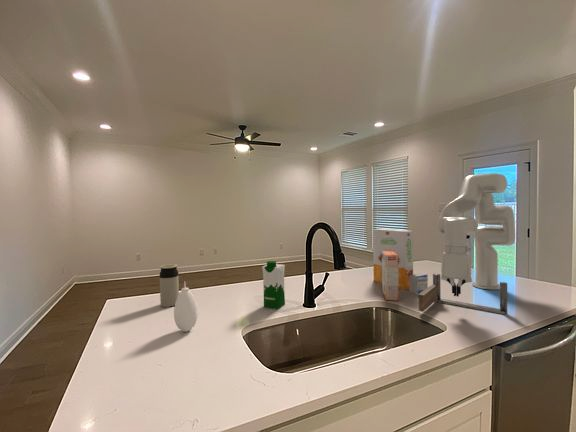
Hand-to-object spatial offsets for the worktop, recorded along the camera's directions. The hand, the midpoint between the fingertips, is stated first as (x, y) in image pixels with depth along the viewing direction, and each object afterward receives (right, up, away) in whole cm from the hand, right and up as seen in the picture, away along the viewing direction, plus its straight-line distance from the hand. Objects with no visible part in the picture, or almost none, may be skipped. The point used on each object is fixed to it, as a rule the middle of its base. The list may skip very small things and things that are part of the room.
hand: (456, 295), depth 117 cm
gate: (-8, -6, +6) cm, 11 cm away
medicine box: (-2, -6, +30) cm, 30 cm away
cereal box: (-10, -6, +45) cm, 46 cm away
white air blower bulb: (-104, -10, -12) cm, 105 cm away
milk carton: (-73, -8, +13) cm, 75 cm away
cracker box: (-18, -7, +23) cm, 30 cm away
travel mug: (-122, -9, +18) cm, 123 cm away
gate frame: (+9, -7, +7) cm, 13 cm away
